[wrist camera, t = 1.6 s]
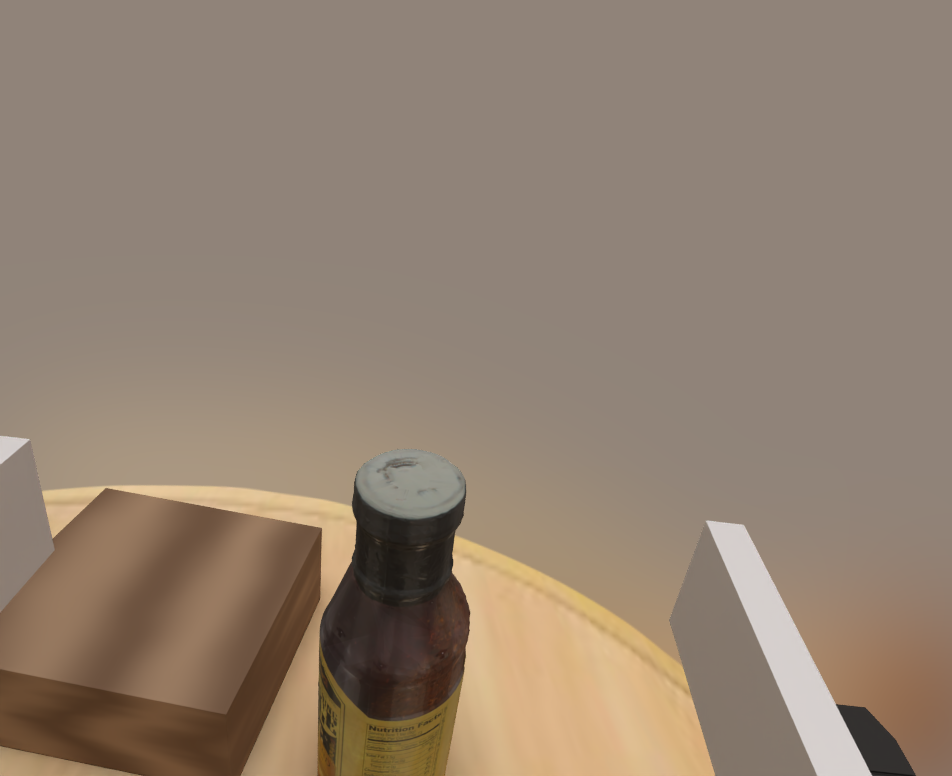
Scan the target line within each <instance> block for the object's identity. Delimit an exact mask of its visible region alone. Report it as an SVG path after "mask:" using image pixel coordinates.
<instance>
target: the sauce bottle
mask: <svg viewBox="0 0 952 776" xmlns="http://www.w3.org/2000/svg"><path fill="white" fill-rule="evenodd" d="M465 498H466V484H465V479H464V477H463V475H462V473H461V471H459V469H458V468H457V467H456V466H455V465H453V464H451V463H450V462H449V461H448V460H446V459H445V458H443V457H442V456H439V455H437V454H434V453H431V452H427V451H422V450H417V449H402V450H393V451H390V452H385V453H383V454H380V455H378V456H376V457H374V458H373V459H371V460H369V461H368V462H366V463H364V465H363V466H362V467H361V469H359V470H358V472H357V474H356V478H355V482H354V494H353V501H352V508H353V513H354V516H355V518H356V521H357V529H356V544H355V550H354V553H353V556H352V562H351V564H350V566H349V568H348V569H347V571H346V573H345V575H344V577H343V579H342V581H341V583H340V584H339V586H338V588H337V590H336V592H335V594H334V596H333V598H332V599H331V601H330V603H329V604H328V606H327V608H326V609H325V611H324V613H323V617H322V620H321V624H320V641H319V682H318V686H319V691H318V695H319V700H318V776H445V770H446V765H447V760H448V755H449V750H450V744H451V739H452V734H453V728H454V723H455V718H456V712H457V707H458V702H459V696H460V691H461V686H462V680H463V675H464V664H465V658H466V651H465V650H466V649H465V647H466V644H467V641H468V635H469V631H470V630H469V625H470V621H469V617H470V610H469V605H468V603H467V600H466V595H465V593H464V592H463V589H462V587H461V584H460V583H459V582H458V580H457V579H456V577H455V576H454V575H453V573H452V567H453V558H452V551H453V544H454V536H455V530H456V529H457V528H458V526H459V525H460V523H461V520H462V518H463V516H464V514H463V513H464V512H463V511H464V506H465Z"/></svg>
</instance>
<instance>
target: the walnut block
mask: <svg viewBox="0 0 952 776" xmlns="http://www.w3.org/2000/svg"><path fill="white" fill-rule="evenodd" d="M52 540H53V544H54V548H55V550H54V551H53V553H52V554H51V555H50V556H49V557H48V558H47V559H46V561H45V562H44V563H43V564H42V565H41V566H40V567H39V569H38V570H37V571H36V572H35V573H34V574H33V576H32V577H31V578H30V579H29V580H28V581H27V582H26V584H25V585H24V586H23V587H22V588H21V589H20V590H19V592H18V593H17V594H16V595H15V596H14V597H13V598H12V600H11V601H10V602H9V603H8V604H7V605H6V606H5V608H4V609H3V610H2V611H1V612H0V746H4V747H9V748H14V749H19V750H24V751H29V752H33V753H38V754H43V755H48V756H53V757H58V758H62V759H67V760H72V761H77V762H82V763H86V764H91V765H96V766H101V767H106V768H111V769H115V770H120V771H125V772H130V773H135V774H140V775H144V776H240V775H241V773H242V770H243V768H244V766H245V764H246V762H247V759H248V757H249V755H250V753H251V750H252V748H253V746H254V744H255V742H256V739H257V737H258V735H259V733H260V731H261V728H262V726H263V724H264V722H265V719H266V717H267V715H268V713H269V711H270V708H271V706H272V704H273V702H274V699H275V697H276V695H277V693H278V691H279V688H280V686H281V684H282V682H283V680H284V677H285V675H286V673H287V671H288V668H289V666H290V664H291V662H292V660H293V657H294V655H295V653H296V651H297V648H298V646H299V644H300V642H301V640H302V637H303V635H304V633H305V631H306V629H307V626H308V624H309V622H310V620H311V617H312V615H313V613H314V611H315V609H316V606H317V604H318V602H319V600H320V581H321V540H322V528H318V527H313V526H307V525H302V524H297V523H291V522H286V521H280V520H275V519H270V518H264V517H259V516H253V515H248V514H243V513H237V512H232V511H226V510H221V509H216V508H210V507H205V506H200V505H194V504H189V503H183V502H178V501H173V500H167V499H162V498H156V497H151V496H146V495H140V494H135V493H129V492H124V491H119V490H113V489H108V488H106V489H105V490H104V491H103V492H101V493H100V494H99V495H98V496H97V497H96V498H95V499H94V500H93V501H92V502H91V503H90V504H89V505H88V506H87V507H86V508H85V509H84V510H83V511H81V512H80V513H79V514H78V515H77V516H76V517H75V518H74V519H73V520H72V521H71V522H70V523H69V524H68V525H67V526H66V527H65V528H64V529H62V530H61V531H60V532H59V533H58V534H57V535H56V536H55V537H54V538H53V539H52Z"/></svg>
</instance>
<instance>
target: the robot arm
mask: <svg viewBox="0 0 952 776" xmlns="http://www.w3.org/2000/svg"><path fill="white" fill-rule="evenodd" d="M54 550H55V548H54V544H53V540H52V535H51V531H50V526H49V522H48V517H47V513H46V508H45V504H44V499H43V495H42V490H41V486H40V481H39V477H38V473H37V468H36V464H35V459H34V455H33V450H32V446H31V442H30V439H23V438H14V437H5V436H0V612H1V611H2V610H3V609H4V608H5V606H6V605H7V604H8V603H9V602H10V601H11V600H12V598H13V597H14V596H15V595H16V594H17V593H18V592H19V590H20V589H21V588H22V587H23V586H24V585H25V584H26V582H27V581H28V580H29V579H30V578H31V577H32V576H33V574H34V573H35V572H36V571H37V570H38V569H39V567H40V566H41V565H42V564H43V563H44V562H45V561H46V559H47V558H48V557H49V556H50V555H51V554H52V553H53V551H54ZM669 621H670V625H671V628H672V631H673V634H674V638H675V641H676V645H677V648H678V651H679V655H680V658H681V661H682V665H683V668H684V672H685V675H686V678H687V682H688V685H689V688H690V692H691V695H692V698H693V702H694V705H695V709H696V712H697V715H698V719H699V722H700V725H701V729H702V732H703V735H704V739H705V742H706V745H707V749H708V752H709V756H710V759H711V762H712V766H713V769H714V772H715V776H916V775H915V773H914V771H913V769H912V768H911V766H910V764H909V762H908V761H907V759H906V757H905V755H904V754H903V752H902V750H901V748H900V747H899V745H898V743H897V741H896V740H895V739H894V738H893V736H892V735H891V734H890V733H889V732H888V731H887V730H886V729H885V728H884V727H883V726H882V725H881V724H880V723H879V722H878V721H877V719H875V717H874V716H873V715H872V714H871V713H870V712H869V711H868V710H867V709H866V708H865V707H855V706H846V705H838V704H835V702H834V701H833V698H832V697H831V695H830V693H829V691H828V689H827V687H826V685H825V683H824V681H823V679H822V677H821V675H820V673H819V671H818V670H817V667H816V665H815V663H814V662H813V659H812V657H811V655H810V653H809V651H808V650H807V648H806V646H805V644H804V642H803V640H802V638H801V636H800V634H799V632H798V630H797V628H796V626H795V624H794V622H793V620H792V618H791V616H790V614H789V613H788V610H787V609H786V606H785V605H784V603H783V601H782V599H781V597H780V595H779V593H778V591H777V589H776V587H775V585H774V583H773V581H772V579H771V577H770V575H769V573H768V571H767V569H766V567H765V565H764V563H763V562H762V560H761V558H760V556H759V554H758V552H757V550H756V548H755V546H754V544H753V542H752V540H751V538H750V536H749V534H748V532H747V530H746V528H745V526H744V525H740V524H731V523H723V522H715V521H705V524H704V527H703V530H702V532H701V535H700V538H699V541H698V543H697V546H696V549H695V551H694V554H693V557H692V560H691V562H690V565H689V568H688V570H687V573H686V576H685V579H684V581H683V584H682V587H681V590H680V592H679V595H678V598H677V601H676V603H675V606H674V609H673V612H672V614H671V617H670V620H669Z"/></svg>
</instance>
